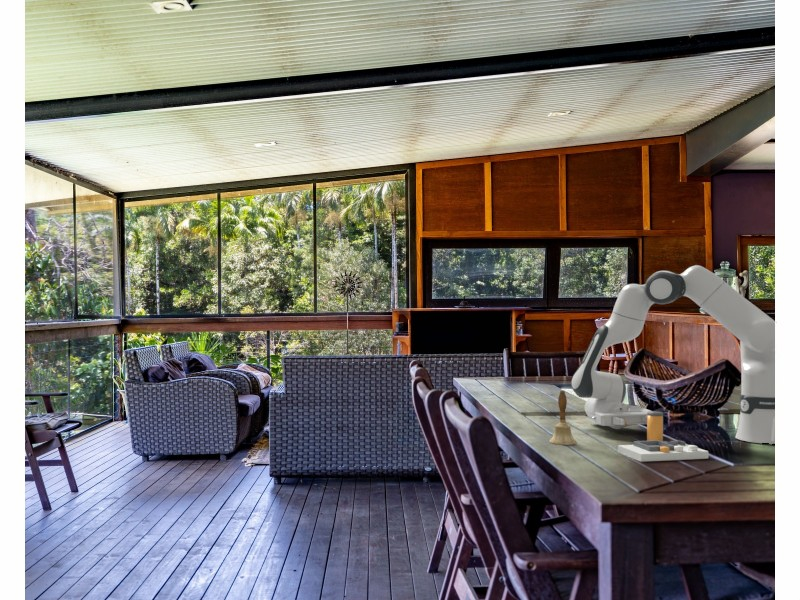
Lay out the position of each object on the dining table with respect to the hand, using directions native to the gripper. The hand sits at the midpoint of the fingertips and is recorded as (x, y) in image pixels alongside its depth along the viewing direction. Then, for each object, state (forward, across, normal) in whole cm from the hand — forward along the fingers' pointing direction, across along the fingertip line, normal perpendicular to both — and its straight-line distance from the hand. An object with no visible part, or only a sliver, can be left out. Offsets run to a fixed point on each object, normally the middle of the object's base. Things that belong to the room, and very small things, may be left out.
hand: (638, 422), depth 221 cm
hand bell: (0, -26, +6) cm, 27 cm away
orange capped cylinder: (+10, 0, +5) cm, 11 cm away
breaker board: (+22, -6, +5) cm, 24 cm away
